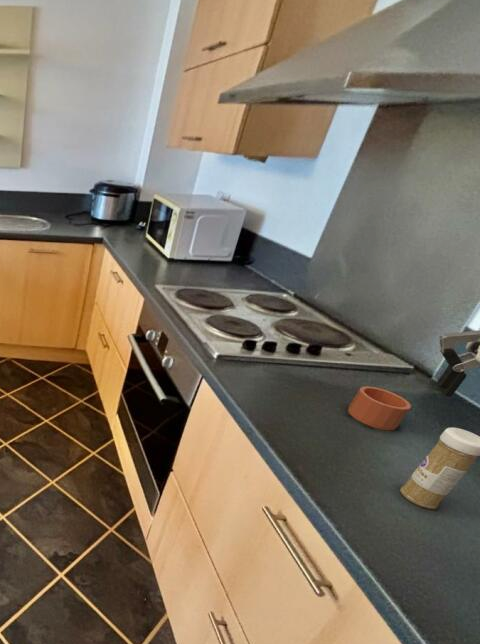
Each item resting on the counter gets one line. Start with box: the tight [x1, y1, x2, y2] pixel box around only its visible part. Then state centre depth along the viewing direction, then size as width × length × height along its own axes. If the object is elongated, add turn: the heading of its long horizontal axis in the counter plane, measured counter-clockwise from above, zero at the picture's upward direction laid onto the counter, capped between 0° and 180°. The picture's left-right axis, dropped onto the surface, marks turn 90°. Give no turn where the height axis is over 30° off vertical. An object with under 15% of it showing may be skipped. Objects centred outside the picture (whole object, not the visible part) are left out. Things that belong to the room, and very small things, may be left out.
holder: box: [347, 385, 412, 432], centre depth 87 cm, size 8×8×6 cm
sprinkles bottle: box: [400, 427, 480, 510], centre depth 65 cm, size 5×5×14 cm
